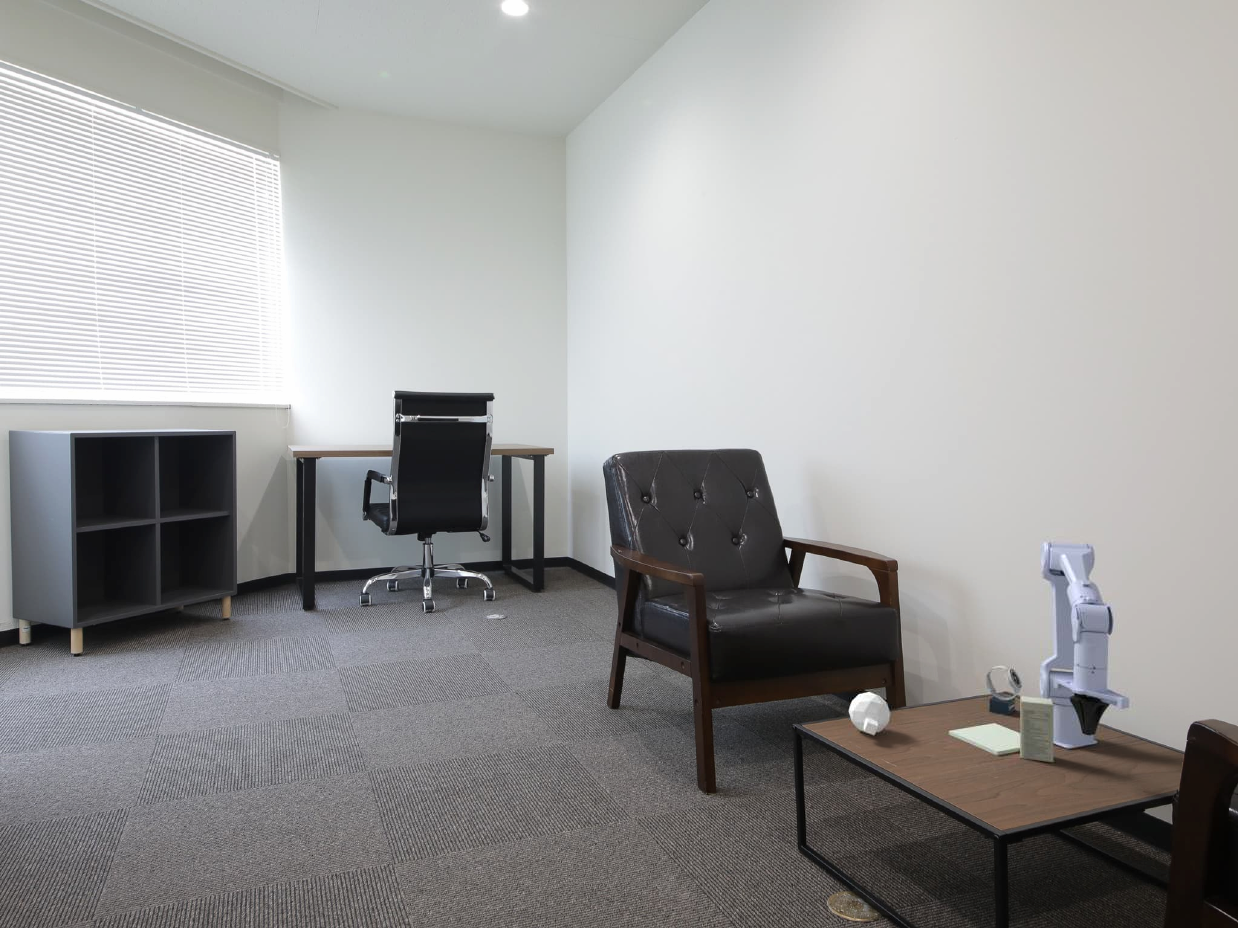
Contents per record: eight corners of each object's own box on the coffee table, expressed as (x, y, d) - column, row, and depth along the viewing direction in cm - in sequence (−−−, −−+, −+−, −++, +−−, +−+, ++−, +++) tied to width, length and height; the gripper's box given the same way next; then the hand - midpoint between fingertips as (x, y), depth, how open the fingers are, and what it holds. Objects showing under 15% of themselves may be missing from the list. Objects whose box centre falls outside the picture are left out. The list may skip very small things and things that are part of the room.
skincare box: (1052, 756, 171) (1053, 698, 170) (1053, 763, 167) (1055, 704, 166) (1018, 750, 173) (1019, 694, 173) (1019, 757, 169) (1020, 700, 169)
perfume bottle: (843, 713, 190) (844, 737, 178) (856, 679, 188) (859, 702, 177) (879, 727, 188) (883, 753, 177) (893, 693, 186) (898, 717, 175)
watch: (1016, 717, 194) (1017, 672, 194) (981, 710, 200) (982, 665, 200) (1023, 712, 199) (1024, 667, 198) (989, 704, 204) (990, 661, 204)
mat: (994, 726, 188) (994, 723, 188) (1044, 746, 176) (1044, 742, 176) (949, 734, 183) (949, 730, 183) (997, 755, 170) (997, 751, 170)
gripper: (1043, 657, 164) (1041, 724, 164) (1112, 677, 150) (1109, 749, 151) (1068, 654, 166) (1066, 719, 167) (1137, 673, 153) (1135, 744, 153)
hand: (1088, 733), depth 159 cm, fingers closed
